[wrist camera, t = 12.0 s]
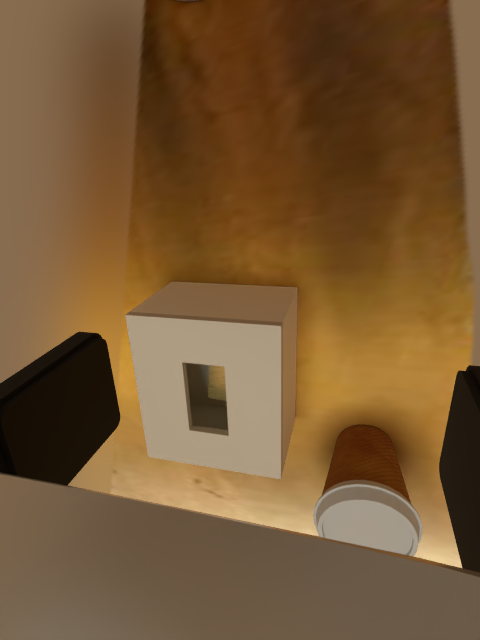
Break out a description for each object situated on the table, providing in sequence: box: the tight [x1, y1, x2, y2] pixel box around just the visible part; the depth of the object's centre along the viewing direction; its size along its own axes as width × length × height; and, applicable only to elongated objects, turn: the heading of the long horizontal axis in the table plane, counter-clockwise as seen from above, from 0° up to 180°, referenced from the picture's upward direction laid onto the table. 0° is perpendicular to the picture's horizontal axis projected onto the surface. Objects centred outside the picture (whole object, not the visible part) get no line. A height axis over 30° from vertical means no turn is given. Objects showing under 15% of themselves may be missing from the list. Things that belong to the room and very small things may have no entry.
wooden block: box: [208, 365, 227, 401], centre depth 43 cm, size 5×2×6 cm
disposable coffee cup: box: [313, 425, 422, 556], centre depth 41 cm, size 10×10×12 cm
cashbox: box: [125, 281, 298, 479], centre depth 41 cm, size 16×14×10 cm
